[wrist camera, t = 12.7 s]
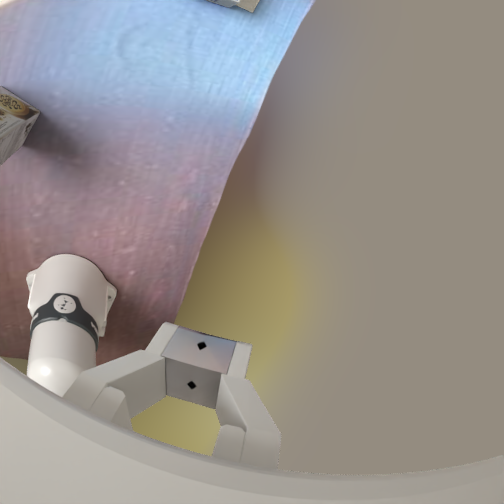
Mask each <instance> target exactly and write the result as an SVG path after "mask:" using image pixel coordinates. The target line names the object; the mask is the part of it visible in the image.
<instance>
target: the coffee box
mask: <svg viewBox="0 0 504 504" xmlns="http://www.w3.org/2000/svg"><path fill="white" fill-rule="evenodd" d="M39 114H40V111H39V110H38V109H36V108H35V107H33V106H31V105H30V104H28V103H27V102H25V101H24V100H22V99H20V98H19V97H17V96H16V95H14V94H13V93H11V92H9V91H8V90H6V89H5V88H3V87H2V86H0V166H1V165H2V164H3V163H4V162H5V161H6V160H7V159H8V158H9V157H10V156H11V155H12V154H13V153H15V152H16V151H17V150H18V149H19V148H20V147H21V146H22V145H23V143H24V141H25V139H26V137H27V136H28V134H29V132H30V130H31V128H32V126H33V124H34V123H35V121H36V119H37V117H38V116H39Z"/></svg>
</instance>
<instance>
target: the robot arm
mask: <svg viewBox="0 0 504 504" xmlns="http://www.w3.org/2000/svg"><path fill="white" fill-rule="evenodd" d="M27 283H28V287H29V291H30V296H29V301H28V308H29V309H30V313H31V315H32V317H33V319H32V322H31V326H30V330H31V331H30V337H31V345H30V351H29V359H28V367H27V376H26V375H24V374H23V373H22V372H20V371H18V370H17V369H16V368H14V367H13V366H11V365H10V364H9V363H7V362H6V361H4V360H3V359H2V358H0V504H504V455H501V456H497V457H494V458H490V459H486V460H483V461H478V462H474V463H469V464H465V465H460V466H455V467H449V468H443V469H436V470H429V471H421V472H412V473H402V474H401V473H400V474H383V475H333V474H315V473H304V472H294V471H286V470H278V460H279V452H280V442H281V433H280V431H279V430H278V428H277V427H276V425H275V423H274V422H273V420H272V418H271V416H270V415H269V413H268V411H267V410H266V408H265V406H264V405H263V403H262V401H261V399H260V398H259V396H258V394H257V393H256V391H255V389H254V387H253V386H252V384H251V382H250V381H249V380H247V379H245V377H246V372H247V368H248V363H249V359H250V355H251V351H252V344H249V343H244V342H240V341H234V340H229V339H225V338H221V337H217V336H213V335H209V334H205V333H202V332H199V331H195V330H192V329H189V328H185V327H182V326H178V325H175V324H171V323H168V322H165V323H163V324H162V326H161V327H160V329H159V330H158V332H157V333H156V335H155V336H154V338H153V339H152V341H151V342H150V344H149V345H148V347H147V348H146V350H145V351H144V350H138V351H136V352H133V353H131V354H128V355H126V356H123V357H120V358H118V359H115V360H113V361H110V362H107V363H105V364H102V365H99V366H97V367H96V351H97V348H98V343H99V342H98V341H99V336H101V337H103V336H104V333H105V327H106V323H107V321H106V318H107V314H108V312H109V310H110V308H111V306H112V303H113V301H114V299H115V297H116V294H117V289H116V288H115V287H114V286H113V285H112V284H110V283H109V282H107V280H106V279H105V278H104V276H103V274H102V273H101V271H100V270H99V269H98V268H97V267H96V266H95V265H94V264H93V263H92V262H90V261H88V260H87V259H85V258H82V257H80V256H76V255H71V254H61V255H56V256H53V257H50V258H49V259H47V260H46V261H45V262H44V263H43V264H42V265H41V266H40V267H39V268H38V269H36V270H33V271H31V272H29V273H28V274H27ZM166 395H168V396H171V397H175V398H178V399H182V400H185V401H189V402H192V403H196V404H199V405H202V406H206V407H209V408H212V409H216V410H215V411H216V414H217V416H218V419H219V422H220V425H221V428H220V431H219V434H218V437H217V441H216V444H215V447H214V451H213V454H212V457H211V456H207V455H203V454H200V453H196V452H192V451H189V450H186V449H182V448H179V447H176V446H173V445H170V444H167V443H164V442H161V441H158V440H155V439H152V438H149V437H146V436H144V435H141V434H139V433H136V432H134V431H133V429H132V425H131V421H130V419H131V418H133V417H134V416H136V415H137V414H139V413H141V412H142V411H144V410H145V409H147V408H149V407H150V406H152V405H153V404H155V403H156V402H158V401H160V400H161V399H163V398H164V397H166Z"/></svg>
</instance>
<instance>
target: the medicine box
mask: <svg viewBox="0 0 504 504" xmlns="http://www.w3.org/2000/svg"><path fill="white" fill-rule="evenodd" d="M207 1H210V2H213V3H216V4H219V5H222V6H225V7H228V8H229V7H232V6H234V5H235V4H237V3H239V2H240V0H207Z"/></svg>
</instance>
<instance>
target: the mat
mask: <svg viewBox="0 0 504 504" xmlns="http://www.w3.org/2000/svg"><path fill="white" fill-rule="evenodd" d="M259 1H260V0H240V2H239V3H237V4H235V5H236V6H239V7H241V8H243V9H245V10H247V11H249V12H251V13H253V11H254V9H255V8H256V6H257V4H258V2H259Z"/></svg>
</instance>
